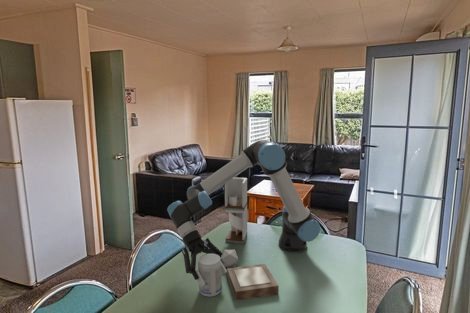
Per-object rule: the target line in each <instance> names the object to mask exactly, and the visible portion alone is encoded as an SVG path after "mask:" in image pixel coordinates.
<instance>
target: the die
mask: <svg viewBox="0 0 470 313" xmlns="http://www.w3.org/2000/svg"><path fill="white" fill-rule="evenodd" d="M222 253H223V254H222V255H221V259H222V261H223V263H224V267H225V268H235V267H236V266H237V263H238V261H239V257H238V254H237V251H236V250H235V249H224V251H223V252H222Z"/></svg>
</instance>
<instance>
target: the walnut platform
mask: <svg viewBox="0 0 470 313" xmlns="http://www.w3.org/2000/svg"><path fill="white" fill-rule="evenodd" d="M226 268H227V269H226V270H227V272H226V274H227V276H226V277H227V279H228V283H229V285H230V289H231V291H232V293H233V296H234V299H235V301H244V300H251V299H258V298H265V297H271V296H277V295H279V284H278V282H277V280H276V279H275V277H274V276H273V274H272V273H271V271H270V269H269V268H268V266H267V264H266V263H261V264H260V263H259V264H251V265H245V266H237V267H236V266H235V267H226Z"/></svg>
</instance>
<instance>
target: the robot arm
mask: <svg viewBox="0 0 470 313" xmlns="http://www.w3.org/2000/svg"><path fill="white" fill-rule="evenodd" d="M256 165H259V166H260V168H261V170H262V172H263V174H264V175H265V176H268V177H269V179H270V180H271V182H272V185H273V186H274V188H275V190H276V192H277V194H278V196H279V198H280V200H281V201H282V202H281V203H282V204H283V207H282V214H281V216H282V218H281V220H282V221H281V222H282V224H281V228H282V229H281V233H280V236H279V240H278V246H279V248H281V249H282V250H284V251H287V252H293V253H294V252H302V251H304V250H306V249H307V244H308V243H309V242H313V241H314V240H316V239H317V238H318V236H319V234H320V233H321V225H320V223H319V222H318V221H317V220H316V219H315V218H314V216H313V214H312V212H311V210H310V209H309V208H308V207H305V205H304V202H303V201H302V199H301V197H300V195H299V193H298V191H297V188H296V186H295V185H294V182H293V181H292V179H291V177H290V174H289V173H288V171H287V169H286V168H287V165H288V162H287V160H286V153H285V150H284V148H282V147H281V146H280V145H279V144H277V143H275V142H272V141H268V140H265V139H260V140H257V141H255V142H253V143H252V144H249V146H247V147H245V148H244V149H243V150H242V151H241V152H240V154H239V155H238V156H237V157H234V159H232V160H230V161H229V162H228V163H226V164H225V165H224V166H222V167H221V168H219V169H218V170H216V171H215V172H214V173H212V174H210V175H209V176H208V177H206V178H205V179H204V180H202V181H201V182H199V183H198V184H195V185H191V186H189V187H188V188H187V191H186V197H187V200H186V201H184V202H182V201H181V200H175V201H174V202H172V203H171V204H169V205H168V207H167V209H166V211H167V213H168V215H169V217H170V220H171V221H172V224H174V227H175V228H176V230H177V232H178V234H179V235H180V237H181V238H182V241H183V243H184V245H185V247H184V248H183V249H182V250H181V253H182V255H183V262H184V267H185V274H191V275H192V276H193V279H194V280H195V281H197V283H198V286H199V285H200V287H203V286H204V285H205V282H204V280H203V279H202V277H201V275H200V273H199V271H198V268H197V267H196V264H197V255H199V254H201V253H203V254H216V255H218V256H220V259H221V258H222V255H223V252H222V251H221V250H220V249H219V248H218V247H217V246H216V245H214V244H213V243H212V242H211V240H210V238H209V237H206V239H204V240H203V239H202V236H201V234H200V232H199V230H197V227H196V225H195V223H194V221H193V220H192V217H194V216H196V215H198V214H199V213H201V212H202V211H205V210H206V209H208V208H209V207H211V206H212V205H213V200H212V199H211V198H210V195H211V194H212V193H214V192H215V191H217V190H218V189H219V188H221V187H223V186H225V183H227V182H228V181H230V180H231V179H232V178H236V177H237V176H238V175H240V174H241V173H242V172H244V171H246V170H247V169H248V168H253V167H255V166H256ZM189 252H190V253H189ZM196 268H197V269H196ZM225 274H227V269H226V267H224V263H223V261H222V259H221V275H225Z"/></svg>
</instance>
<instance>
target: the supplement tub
mask: <svg viewBox="0 0 470 313" xmlns="http://www.w3.org/2000/svg"><path fill="white" fill-rule="evenodd" d="M197 267H198V268H197V269H198V271H199V273H200V275H201V277H202V279H203V280H204V282H205V285H204V286H203V287H200V285H199V284H198V288H199V293H200V294H201V295H202V296H204V297H208V298H209V297H216V296H218V295H219V294H221V292H222V290H223V284H222V282H223V281H222V280H223V279H222V276H223V274H222V272H221V259H220V256H218V255H216V254H206V253H203V254H202V255H201V256H199V258H198V260H197Z"/></svg>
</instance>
